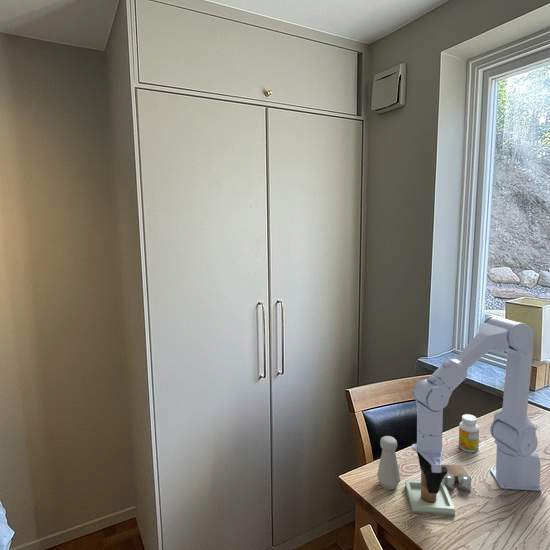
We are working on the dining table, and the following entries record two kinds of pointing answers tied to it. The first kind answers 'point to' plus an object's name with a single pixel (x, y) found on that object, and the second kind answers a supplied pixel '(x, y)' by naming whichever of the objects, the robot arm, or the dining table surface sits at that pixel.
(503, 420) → the robot arm
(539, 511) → the dining table surface
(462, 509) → the dining table surface
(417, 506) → the tray
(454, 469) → the wooden block
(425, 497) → the dowel
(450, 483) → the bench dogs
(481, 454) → the dining table surface
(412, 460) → the dining table surface
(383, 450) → the salt shaker
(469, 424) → the supplement bottle
